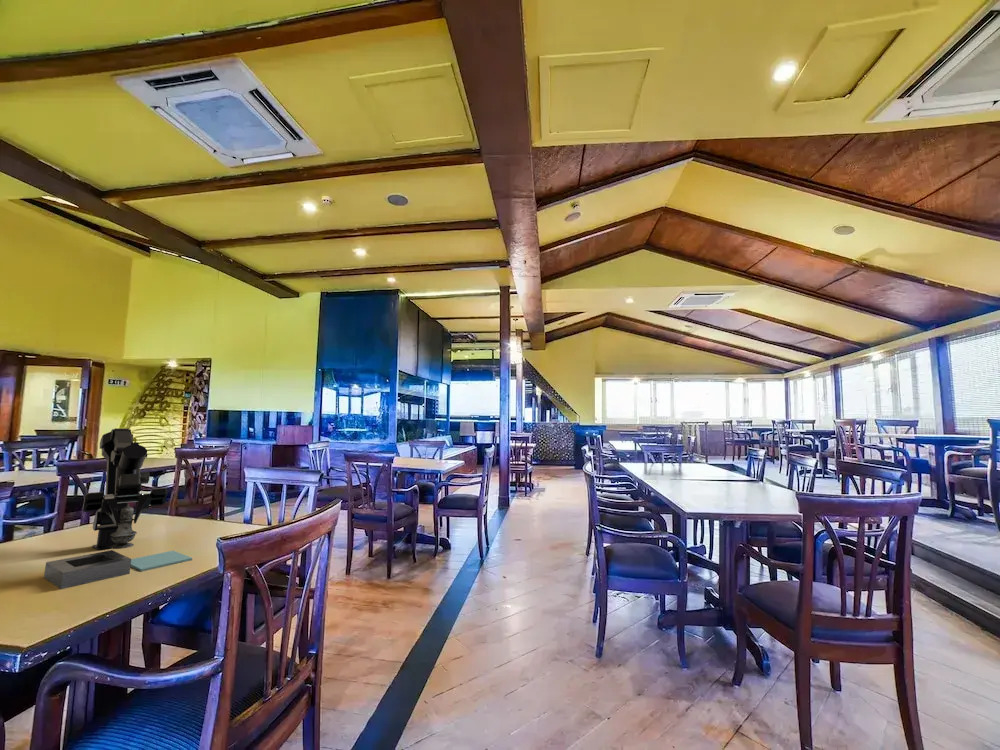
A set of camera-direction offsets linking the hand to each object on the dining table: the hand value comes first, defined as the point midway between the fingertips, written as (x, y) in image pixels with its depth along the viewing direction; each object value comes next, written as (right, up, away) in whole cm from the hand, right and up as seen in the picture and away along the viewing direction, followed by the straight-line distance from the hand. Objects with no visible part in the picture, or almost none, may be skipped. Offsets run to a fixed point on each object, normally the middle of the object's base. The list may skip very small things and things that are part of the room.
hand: (126, 523), depth 124 cm
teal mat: (+3, -14, +8) cm, 16 cm away
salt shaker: (-1, -7, 0) cm, 7 cm away
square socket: (-6, -12, -6) cm, 15 cm away
